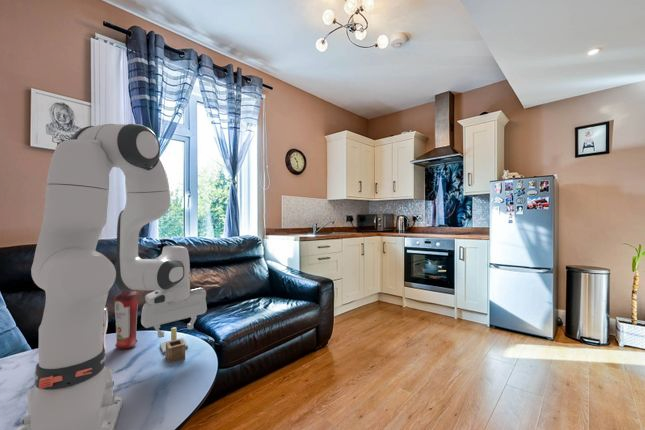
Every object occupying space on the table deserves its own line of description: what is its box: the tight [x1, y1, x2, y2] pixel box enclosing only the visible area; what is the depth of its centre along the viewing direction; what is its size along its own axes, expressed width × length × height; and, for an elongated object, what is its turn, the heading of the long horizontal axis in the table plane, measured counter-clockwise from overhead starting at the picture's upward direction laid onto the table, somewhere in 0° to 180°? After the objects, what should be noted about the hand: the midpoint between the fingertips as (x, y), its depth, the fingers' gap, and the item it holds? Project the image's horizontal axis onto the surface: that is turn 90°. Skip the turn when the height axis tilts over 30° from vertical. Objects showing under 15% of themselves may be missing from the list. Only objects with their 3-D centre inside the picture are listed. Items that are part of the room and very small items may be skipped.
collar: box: [165, 337, 186, 364], centre depth 98 cm, size 6×5×5 cm
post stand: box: [159, 326, 189, 355], centre depth 106 cm, size 8×8×7 cm
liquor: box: [113, 290, 139, 350], centre depth 106 cm, size 7×7×28 cm
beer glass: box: [103, 306, 109, 351], centre depth 103 cm, size 7×7×15 cm
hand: (176, 332), depth 99 cm, fingers open, 8 cm apart
